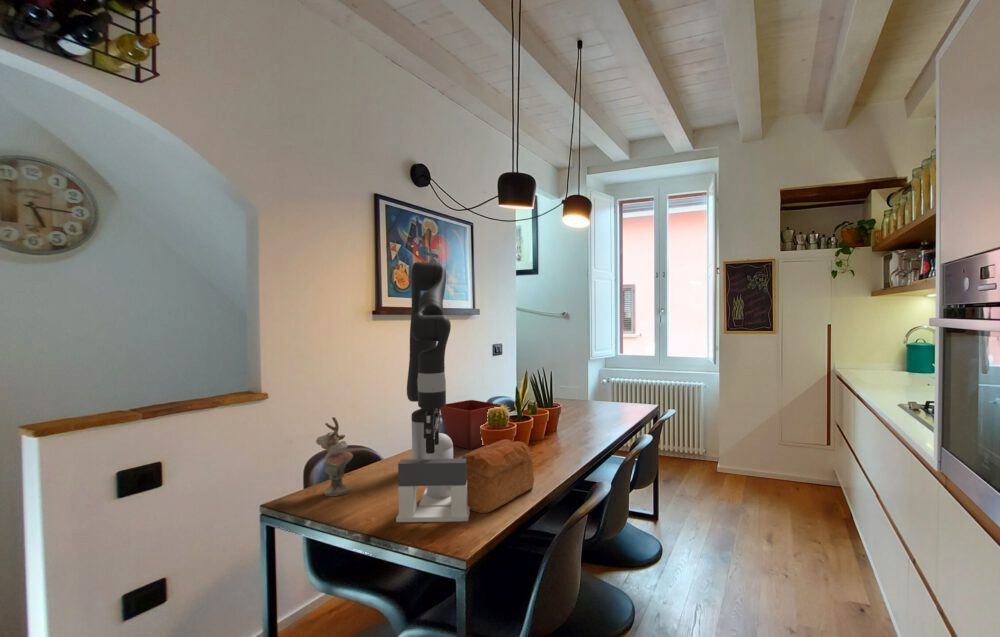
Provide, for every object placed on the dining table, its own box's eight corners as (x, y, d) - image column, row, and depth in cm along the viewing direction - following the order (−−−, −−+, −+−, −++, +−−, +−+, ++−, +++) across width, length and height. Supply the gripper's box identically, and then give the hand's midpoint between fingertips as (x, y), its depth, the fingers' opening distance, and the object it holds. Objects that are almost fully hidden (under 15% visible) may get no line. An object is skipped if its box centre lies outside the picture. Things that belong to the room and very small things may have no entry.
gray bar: (466, 480, 136) (466, 458, 136) (465, 485, 132) (465, 462, 132) (401, 481, 136) (401, 459, 136) (398, 486, 132) (398, 463, 132)
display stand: (411, 491, 153) (410, 430, 153) (473, 491, 153) (472, 429, 153) (396, 522, 131) (395, 449, 130) (468, 521, 130) (466, 448, 130)
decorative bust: (312, 482, 159) (320, 407, 157) (352, 486, 161) (361, 411, 159) (302, 498, 148) (310, 417, 146) (345, 501, 150) (354, 421, 148)
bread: (449, 505, 142) (448, 453, 142) (501, 479, 164) (501, 434, 164) (488, 516, 134) (487, 460, 134) (538, 487, 156) (537, 439, 156)
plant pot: (502, 443, 209) (502, 404, 209) (469, 453, 196) (469, 410, 196) (471, 436, 223) (471, 399, 223) (438, 445, 209) (438, 405, 209)
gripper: (442, 393, 127) (443, 456, 127) (448, 385, 141) (449, 441, 141) (413, 393, 127) (414, 456, 127) (422, 385, 141) (423, 442, 141)
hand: (432, 448), depth 134 cm, fingers open, 8 cm apart
